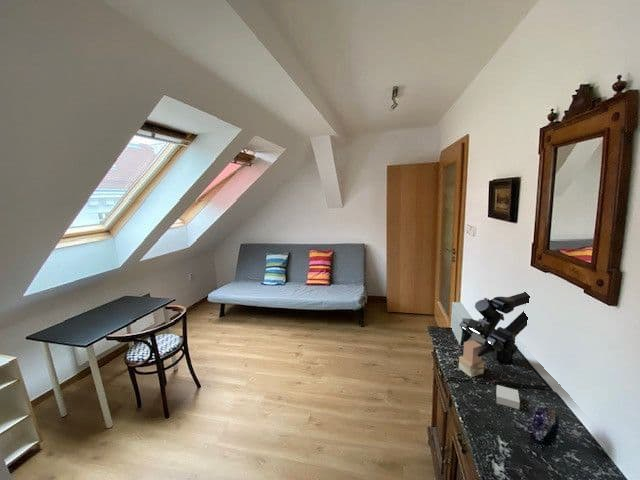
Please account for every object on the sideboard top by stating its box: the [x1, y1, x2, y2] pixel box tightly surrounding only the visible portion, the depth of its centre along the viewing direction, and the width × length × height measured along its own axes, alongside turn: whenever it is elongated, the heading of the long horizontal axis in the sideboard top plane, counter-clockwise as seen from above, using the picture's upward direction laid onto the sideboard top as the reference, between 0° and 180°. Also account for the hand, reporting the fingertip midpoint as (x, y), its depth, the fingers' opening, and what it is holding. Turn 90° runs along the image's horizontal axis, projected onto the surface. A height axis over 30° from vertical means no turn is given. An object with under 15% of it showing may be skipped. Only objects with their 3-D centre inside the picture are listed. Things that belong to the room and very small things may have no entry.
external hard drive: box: [471, 333, 491, 346], centre depth 152 cm, size 2×8×12 cm
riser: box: [495, 384, 521, 410], centre depth 108 cm, size 7×7×3 cm
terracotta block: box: [462, 340, 483, 365], centre depth 124 cm, size 5×5×8 cm
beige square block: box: [458, 355, 485, 372], centre depth 125 cm, size 7×7×3 cm
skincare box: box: [450, 301, 474, 347], centre depth 153 cm, size 21×5×16 cm, turn 168°
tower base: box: [458, 362, 485, 378], centre depth 126 cm, size 7×7×3 cm
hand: (469, 350), depth 123 cm, fingers open, 9 cm apart
